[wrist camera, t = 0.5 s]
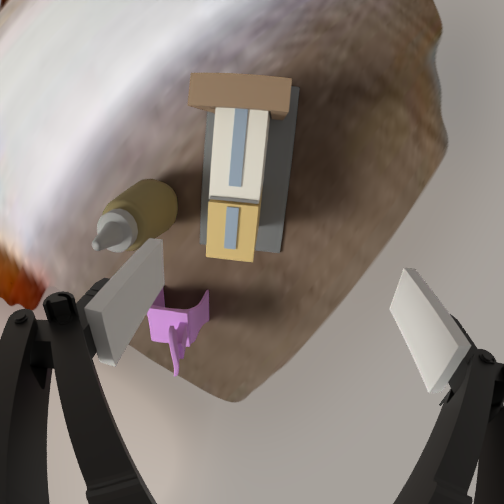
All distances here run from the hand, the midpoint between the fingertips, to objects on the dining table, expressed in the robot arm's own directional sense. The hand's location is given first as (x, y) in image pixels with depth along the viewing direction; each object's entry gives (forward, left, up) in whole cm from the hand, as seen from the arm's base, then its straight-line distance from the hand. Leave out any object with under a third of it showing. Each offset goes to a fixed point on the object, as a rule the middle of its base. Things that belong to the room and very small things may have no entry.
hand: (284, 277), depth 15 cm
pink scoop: (+21, -13, -28) cm, 37 cm away
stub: (+3, -5, -27) cm, 27 cm away
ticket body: (-6, -5, -27) cm, 28 cm away
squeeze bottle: (+4, -17, -28) cm, 33 cm away
